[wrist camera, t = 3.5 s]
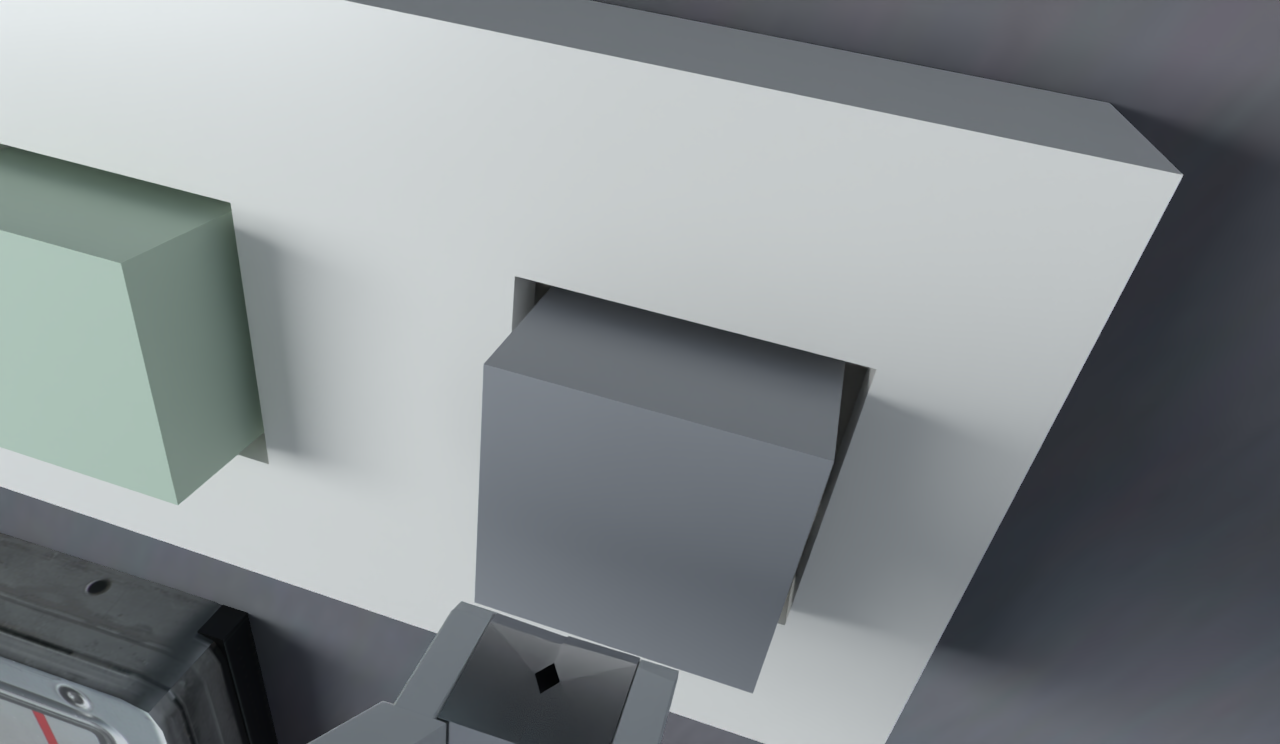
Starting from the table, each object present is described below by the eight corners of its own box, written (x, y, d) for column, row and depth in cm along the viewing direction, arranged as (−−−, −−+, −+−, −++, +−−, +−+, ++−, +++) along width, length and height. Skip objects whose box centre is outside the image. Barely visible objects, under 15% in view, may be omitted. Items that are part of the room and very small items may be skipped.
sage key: (251, 201, 15) (121, 263, 12) (280, 418, 17) (178, 505, 15) (24, 142, 15) (-143, 190, 13) (86, 359, 18) (-43, 433, 16)
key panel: (1109, 102, 13) (1182, 174, 10) (872, 630, 20) (866, 778, 17) (-21, -121, 16) (-256, -125, 13) (117, 398, 23) (-12, 482, 20)
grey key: (846, 353, 13) (834, 460, 11) (775, 567, 16) (752, 693, 13) (558, 279, 14) (483, 364, 11) (538, 495, 16) (474, 602, 14)
